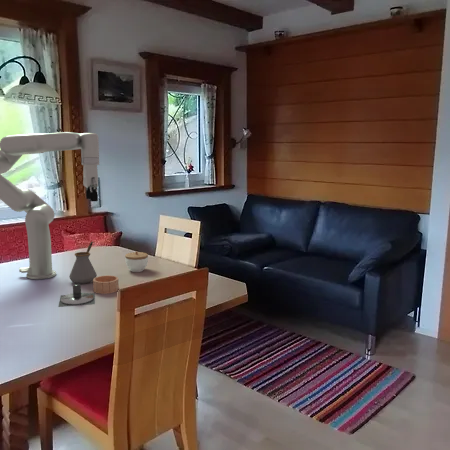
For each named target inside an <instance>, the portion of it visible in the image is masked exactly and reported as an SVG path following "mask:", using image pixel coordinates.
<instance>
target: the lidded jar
mask: <svg viewBox="0 0 450 450" xmlns="http://www.w3.org/2000/svg"><path fill="white" fill-rule="evenodd" d="M124 259H125V264H126V266H127V267H126V268H127V269H129V271H130V272H132V273H133V272H134V273H139V272H143V271H144V270H145V268H146V267H147V266H148V263H149V262H148V260H149V254H148V253H146V252H142V251H141V252H140V251H137V250H135V252H128V253H126V254H125V258H124Z"/></svg>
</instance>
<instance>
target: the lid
mask: <svg viewBox="0 0 450 450" xmlns="http://www.w3.org/2000/svg"><path fill="white" fill-rule="evenodd" d="M64 295H65V296H63V297H62V298H61V302H62V303H63V304H67V305H77V306H81V305H80V304H85V303H88V302H91V301H92V300H93V299H94V298H93V295H92V294H89V292H82V284H75V283H73V284H72V293H68V294H64Z"/></svg>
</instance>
